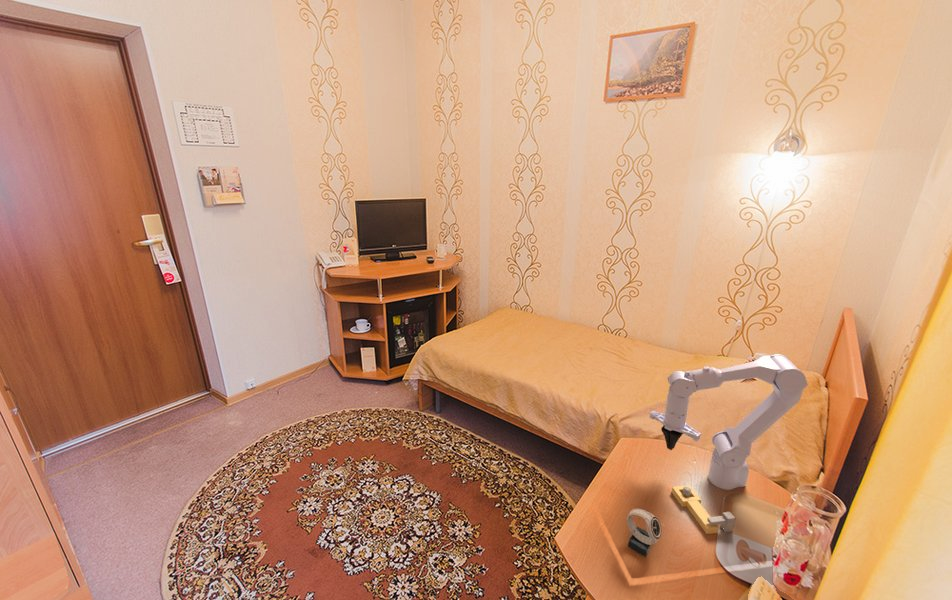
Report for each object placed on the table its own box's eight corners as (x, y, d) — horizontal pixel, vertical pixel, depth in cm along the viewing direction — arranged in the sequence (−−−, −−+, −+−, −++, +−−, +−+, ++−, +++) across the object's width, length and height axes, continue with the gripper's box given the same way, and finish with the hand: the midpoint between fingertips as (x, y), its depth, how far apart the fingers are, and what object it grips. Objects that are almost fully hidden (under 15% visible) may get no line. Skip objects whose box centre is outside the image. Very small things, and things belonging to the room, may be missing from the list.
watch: (653, 565, 94) (658, 531, 91) (620, 545, 99) (624, 512, 96) (660, 549, 98) (666, 515, 95) (629, 531, 103) (633, 498, 100)
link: (671, 492, 114) (672, 486, 113) (688, 490, 114) (689, 485, 114) (702, 534, 101) (703, 528, 100) (721, 532, 101) (723, 526, 100)
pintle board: (696, 486, 117) (699, 471, 116) (738, 535, 101) (742, 519, 100) (633, 492, 115) (635, 478, 114) (666, 544, 99) (669, 527, 98)
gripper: (646, 404, 119) (641, 440, 123) (694, 427, 107) (687, 466, 112) (658, 396, 123) (653, 432, 127) (706, 417, 111) (699, 456, 115)
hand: (670, 447), depth 119 cm, fingers closed
